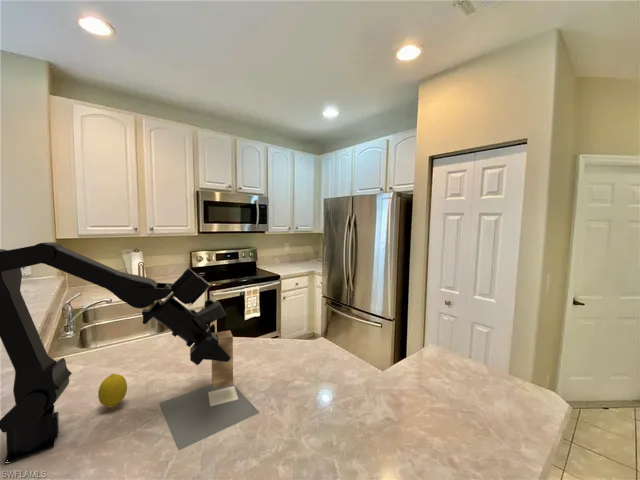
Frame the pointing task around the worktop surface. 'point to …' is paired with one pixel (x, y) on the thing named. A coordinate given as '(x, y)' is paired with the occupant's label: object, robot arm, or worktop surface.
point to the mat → (205, 413)
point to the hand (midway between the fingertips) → (227, 355)
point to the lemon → (112, 390)
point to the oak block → (221, 369)
